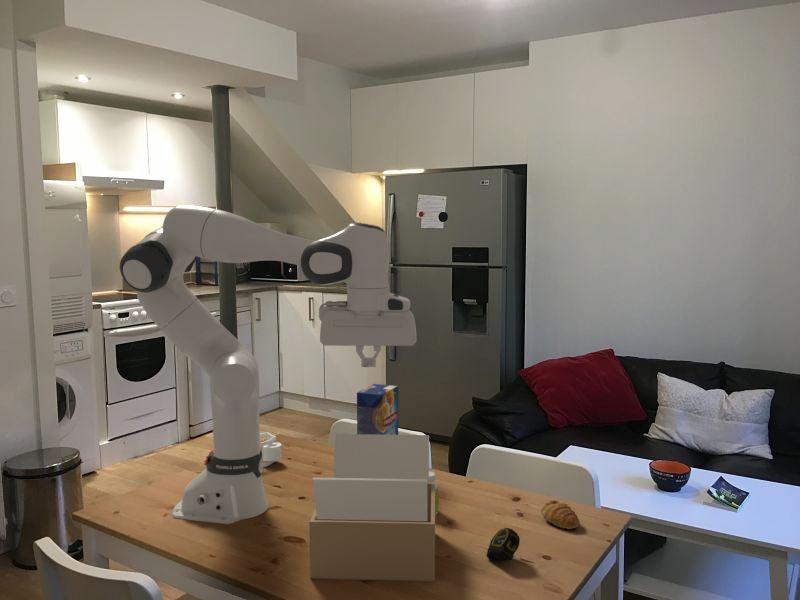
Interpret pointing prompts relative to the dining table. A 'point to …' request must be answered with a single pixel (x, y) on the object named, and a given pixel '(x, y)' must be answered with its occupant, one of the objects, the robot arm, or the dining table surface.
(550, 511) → the pastry
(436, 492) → the supplement bottle
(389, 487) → the near flap
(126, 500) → the dining table surface
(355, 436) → the far flap
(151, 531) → the dining table surface
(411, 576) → the carton
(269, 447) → the wheeled car silhouette
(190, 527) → the dining table surface
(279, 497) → the dining table surface
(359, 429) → the juice carton
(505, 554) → the tape measure
